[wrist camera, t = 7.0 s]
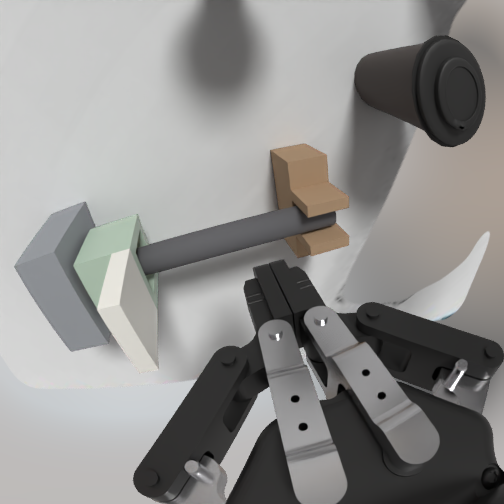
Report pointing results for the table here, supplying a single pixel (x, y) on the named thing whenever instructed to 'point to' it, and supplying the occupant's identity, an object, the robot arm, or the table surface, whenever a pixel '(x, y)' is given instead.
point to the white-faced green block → (122, 288)
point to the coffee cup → (427, 88)
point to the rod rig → (183, 243)
